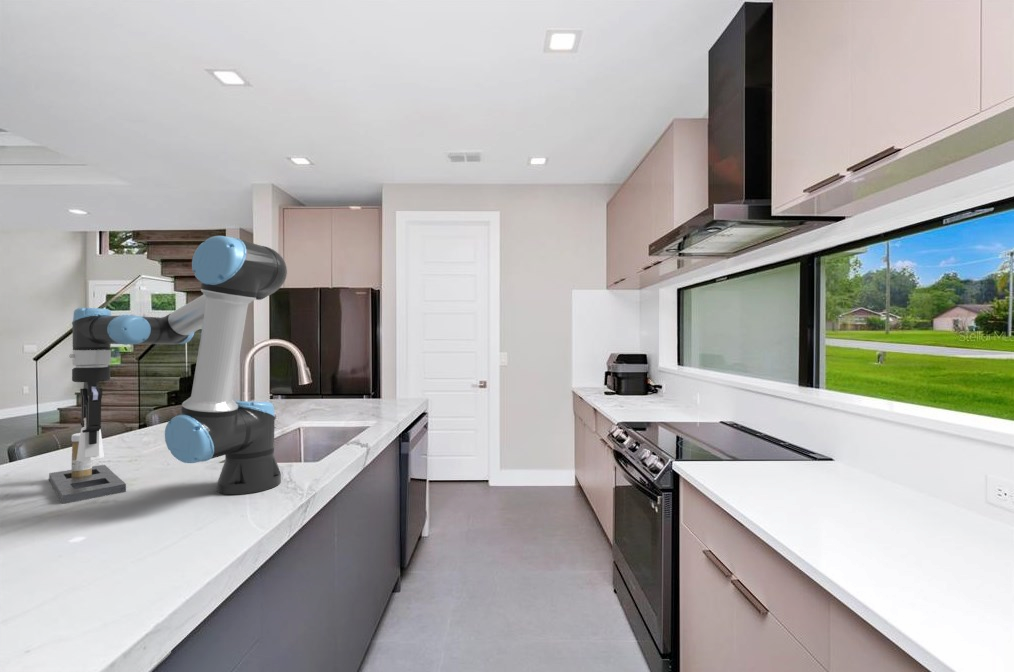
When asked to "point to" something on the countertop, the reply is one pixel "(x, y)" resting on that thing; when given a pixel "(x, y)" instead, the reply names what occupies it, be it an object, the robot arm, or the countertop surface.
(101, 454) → the pepper shaker
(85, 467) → the sprinkles bottle
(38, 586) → the countertop surface
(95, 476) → the bolt plate
